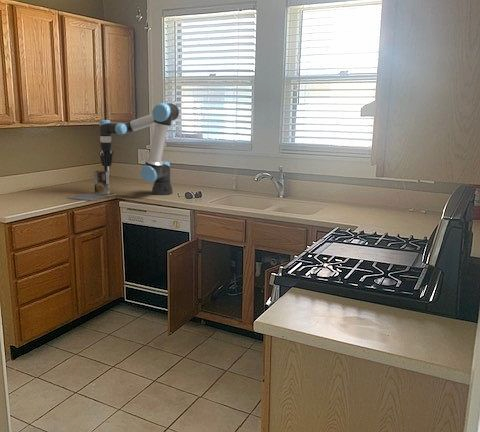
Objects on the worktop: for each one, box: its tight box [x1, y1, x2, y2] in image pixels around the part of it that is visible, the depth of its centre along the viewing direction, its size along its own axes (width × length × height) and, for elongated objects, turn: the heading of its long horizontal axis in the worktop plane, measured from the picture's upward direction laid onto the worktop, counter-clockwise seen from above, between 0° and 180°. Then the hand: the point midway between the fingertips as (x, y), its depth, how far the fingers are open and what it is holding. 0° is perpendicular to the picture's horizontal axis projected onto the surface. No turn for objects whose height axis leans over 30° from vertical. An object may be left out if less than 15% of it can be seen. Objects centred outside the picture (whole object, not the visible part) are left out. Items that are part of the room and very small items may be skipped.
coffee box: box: [93, 170, 111, 196], centre depth 336 cm, size 9×6×16 cm
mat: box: [67, 192, 109, 202], centre depth 324 cm, size 20×18×1 cm
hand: (107, 175), depth 341 cm, fingers closed
